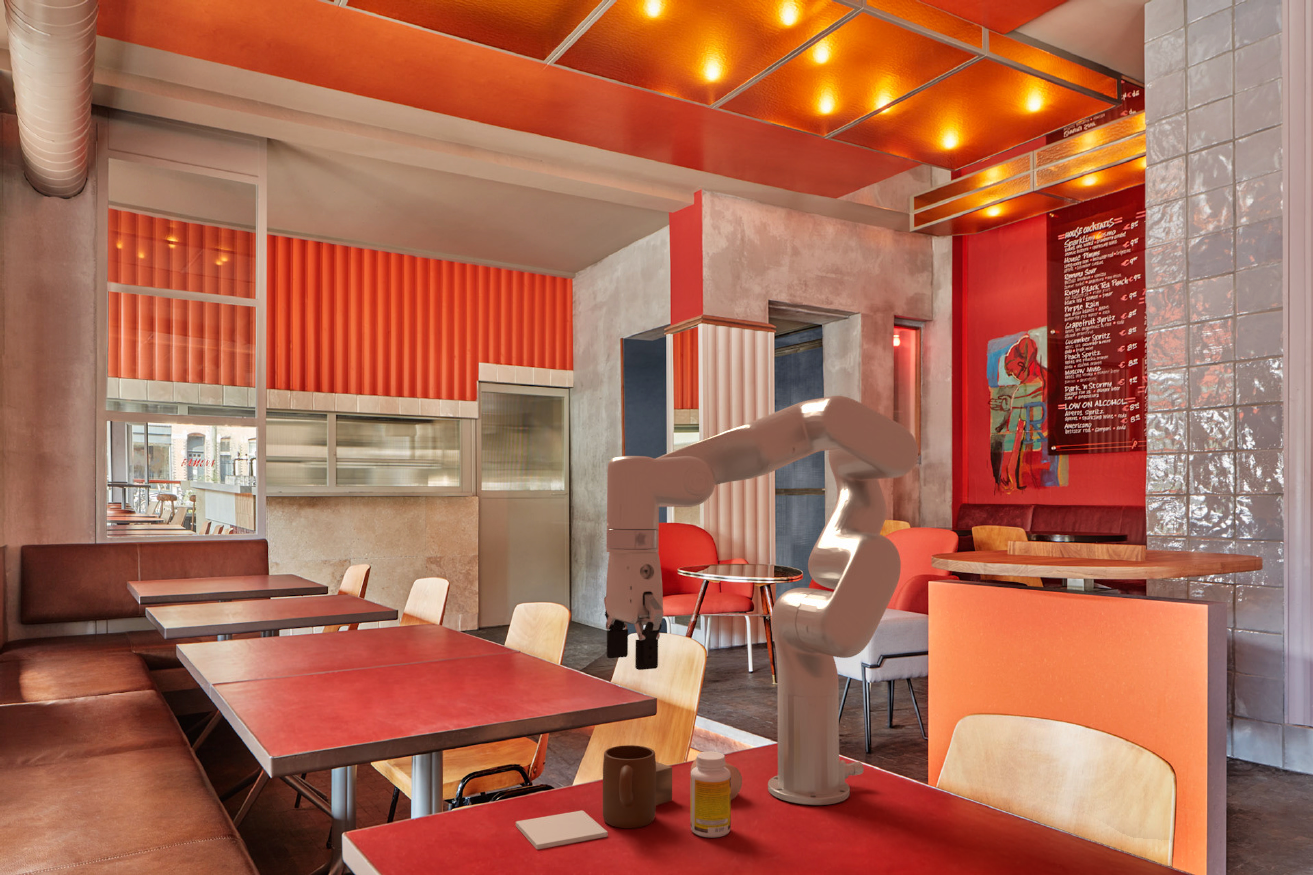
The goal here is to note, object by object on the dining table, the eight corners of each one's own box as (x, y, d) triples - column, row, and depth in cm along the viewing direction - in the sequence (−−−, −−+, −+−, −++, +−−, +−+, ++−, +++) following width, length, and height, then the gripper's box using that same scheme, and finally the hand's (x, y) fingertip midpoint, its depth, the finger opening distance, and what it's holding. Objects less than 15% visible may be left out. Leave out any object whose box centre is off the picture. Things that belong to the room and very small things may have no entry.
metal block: (650, 792, 132) (650, 759, 133) (672, 800, 128) (672, 767, 129) (625, 799, 129) (626, 765, 129) (647, 808, 125) (647, 773, 125)
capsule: (714, 789, 136) (721, 756, 137) (737, 803, 129) (745, 768, 130) (687, 784, 133) (694, 751, 134) (709, 798, 127) (717, 763, 128)
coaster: (582, 814, 122) (582, 810, 122) (607, 836, 114) (607, 831, 114) (515, 825, 118) (515, 821, 118) (536, 849, 110) (537, 844, 110)
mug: (653, 843, 112) (653, 770, 113) (596, 841, 112) (597, 768, 113) (656, 810, 124) (657, 744, 125) (605, 809, 124) (605, 743, 125)
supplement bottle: (737, 836, 115) (737, 758, 115) (699, 841, 113) (700, 762, 113) (720, 821, 120) (720, 747, 121) (684, 826, 118) (684, 751, 119)
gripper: (684, 544, 116) (683, 671, 114) (630, 539, 131) (629, 651, 130) (635, 544, 112) (633, 676, 111) (585, 539, 128) (583, 655, 126)
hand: (631, 662), depth 120 cm, fingers open, 9 cm apart
